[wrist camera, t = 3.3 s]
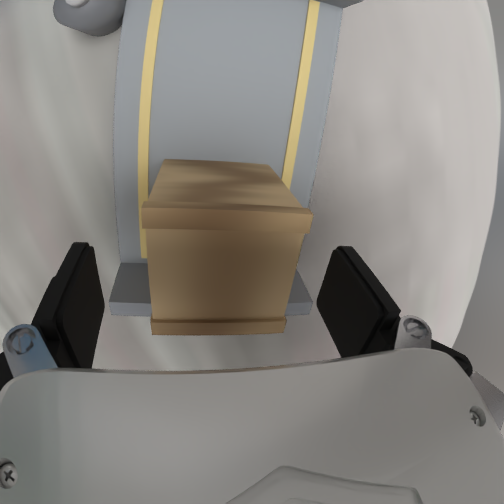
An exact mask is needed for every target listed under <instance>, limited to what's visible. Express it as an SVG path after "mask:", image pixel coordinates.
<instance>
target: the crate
mask: <svg viewBox="0 0 504 504" xmlns="http://www.w3.org/2000/svg"><path fill="white" fill-rule="evenodd" d="M141 217H142V229H146V246H147V262H148V275H149V287H150V297H151V307H152V313H151V322H150V323H151V330H152V335H247V334H271V333H283V332H284V328H285V325H286V318H285V316H284V314H285V310H286V307H287V303H288V299H289V295H290V291H291V287H292V283H293V279H294V275H295V271H296V267H297V263H298V259H299V255H300V251H301V246H302V242H303V238H304V233H307V234H309V232H310V228H311V223H312V219H313V213H312V212H311V211H310V210H309V208H303V207H302V205H301V204H300V203H299V202H298V200H297V199H296V198H295V196H294V195H293V194H292V193H291V191H290V190H289V189H288V188H287V186H286V185H285V184H284V183H283V182H282V180H281V179H280V178H279V177H278V175H277V174H276V173H275V172H274V171H273V169H272V168H271V167H270V166H269V165H267V164H255V163H242V162H227V161H209V160H184V159H164V161H163V163H162V166H161V168H160V170H159V173H158V175H157V178H156V180H155V183H154V185H153V188H152V191H151V193H150V196H149V198H148V201H144V202H143V204H142V207H141Z"/></svg>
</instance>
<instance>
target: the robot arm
mask: <svg viewBox="0 0 504 504" xmlns="http://www.w3.org/2000/svg"><path fill="white" fill-rule="evenodd" d="M104 308H105V304H104V298H103V294H102V289H101V284H100V280H99V275H98V269H97V264H96V259H95V253H94V248H93V247H92V246H89V244H88V243H87V242H74V243H73V244H72V246H71V248H70V250H69V251H68V253H67V255H66V257H65V259H64V261H63V263H62V265H61V267H60V268H59V270H58V272H57V274H56V276H55V277H53V278H52V280H51V282H50V284H49V286H48V288H47V290H46V292H45V294H44V296H43V298H42V300H41V303H40V305H39V307H38V309H37V312H36V314H35V316H34V318H33V321H32V323H31V325H29V324H21V325H18V326H15V327H14V328H12V329H11V330H10V331H9V332H8V333H7V334H6V336H5V337H4V339H3V350H4V352H2V353H1V354H0V504H504V439H503V436H502V434H501V432H500V430H501V427H502V424H503V421H504V393H503V392H502V391H500V390H499V389H498V388H497V387H495V386H494V385H493V384H491V383H490V382H489V381H488V380H487V379H485V378H484V377H483V376H482V375H480V374H479V373H478V372H477V371H475V372H474V373H472V371H473V370H472V365H471V363H470V361H469V360H468V358H467V357H466V356H465V355H463V354H461V353H459V352H457V351H455V350H453V349H451V348H449V347H447V346H445V345H443V344H441V343H439V342H436V341H434V340H432V333H431V329H430V327H429V326H428V325H427V323H426V322H424V321H423V320H422V319H420V318H418V317H416V316H412V315H407V316H403V317H402V318H400V317H399V314H400V312H401V310H400V309H399V307H398V306H397V304H396V303H395V302H394V300H393V299H392V298H391V296H390V295H389V294H388V292H387V291H386V289H385V288H384V287H383V285H382V284H381V283H380V282H379V280H378V279H377V278H376V276H375V275H374V274H373V272H372V271H371V270H370V268H369V267H368V266H367V265H366V263H365V262H364V261H363V260H362V258H361V257H360V256H359V254H358V253H357V252H356V251H355V249H354V248H353V247H351V246H338V247H337V248H336V249H335V250H333V252H332V255H331V258H330V261H329V264H328V267H327V271H326V274H325V277H324V280H323V283H322V286H321V289H320V292H319V295H318V298H317V308H318V310H319V312H320V314H321V316H322V318H323V320H324V322H325V324H326V326H327V328H328V330H329V332H330V335H331V337H332V339H333V341H334V343H335V345H336V347H337V349H338V351H339V353H340V355H341V358H338V359H331V360H324V361H316V362H308V363H299V364H290V365H280V366H269V367H257V368H243V369H225V370H199V371H139V370H108V369H92V364H93V358H94V353H95V348H96V344H97V339H98V334H99V330H100V326H101V321H102V317H103V313H104Z"/></svg>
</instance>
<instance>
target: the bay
mask: <svg viewBox="0 0 504 504" xmlns="http://www.w3.org/2000/svg"><path fill="white" fill-rule="evenodd" d="M362 1H363V0H55V2H54V6H53V13H54V16H55V18H56V20H57V21H58V22H59V23H60V24H62V25H65V26H67V27H70V28H73V29H76V30H79V31H81V32H84V33H87V34H89V35H92V36H105V35H108V34H110V33H112V32H114V31H115V30H117V29H118V28H119V27H120V26H121V25H122V29H121V37H120V44H119V53H118V62H117V73H116V85H115V102H114V134H113V157H114V189H115V207H116V220H117V232H118V242H119V251H120V260H121V264H120V267H119V270H118V273H117V276H116V279H115V283H114V286H113V289H112V292H111V296H110V299H109V306H110V310H111V315H123V316H151V313H152V307H151V297H150V287H149V275H148V262H147V246H146V229H142V217H141V207H142V204H143V202H144V201H148V198H149V196H150V193H151V191H152V188H153V185H154V183H155V180H156V178H157V175H158V173H159V170H160V168H161V166H162V163H163V161H164V159H184V160H209V161H227V162H242V163H255V164H267V165H269V166H270V167H271V168H272V169H273V171H274V172H275V173H276V174H277V175H278V177H279V178H280V179H281V180H282V182H283V183H284V184H285V185H286V186H287V188H288V189H289V190H290V191H291V193H292V194H293V195H294V196H295V198H296V199H297V200H298V202H299V203H300V204H301V205H302V207H303V208H308V205H309V201H310V196H311V191H312V186H313V182H314V177H315V172H316V167H317V162H318V157H319V152H320V147H321V141H322V136H323V131H324V125H325V120H326V114H327V109H328V103H329V97H330V91H331V85H332V79H333V73H334V66H335V60H336V53H337V47H338V40H339V33H340V25H341V18H342V10H343V8H345V7H348V6H351V5H353V4H356V3H359V2H362ZM312 304H313V301H312V299H311V297H310V295H309V293H308V291H307V289H306V287H305V285H304V283H303V281H302V279H301V277H300V275H299V273H298V271H297V269H296V271H295V275H294V279H293V283H292V287H291V291H290V295H289V299H288V303H287V307H286V310H285V314H284V316H285V315H306V314H309V313H310V310H311V307H312Z"/></svg>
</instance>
